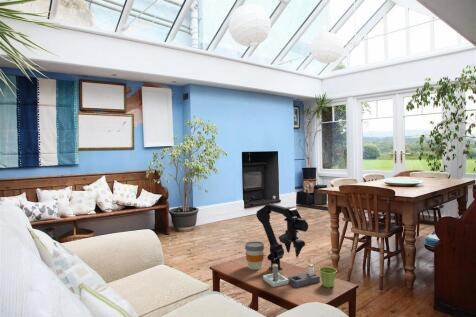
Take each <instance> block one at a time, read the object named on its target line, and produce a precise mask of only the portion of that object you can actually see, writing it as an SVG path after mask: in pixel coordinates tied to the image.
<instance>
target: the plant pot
mask: <svg viewBox="0 0 476 317" xmlns="http://www.w3.org/2000/svg"><path fill="white" fill-rule="evenodd" d="M318 270H319V273H320V279H321V282H322V283H321V284H322V286H323V287H324V288H333V287H334V286H335V279H336V278H335V277H336V273H337V272H338V270H337V269H336V268H335V267H331V266H323V267H322V266H321V267H320V268H318Z"/></svg>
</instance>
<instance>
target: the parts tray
mask: <svg viewBox="0 0 476 317" xmlns="http://www.w3.org/2000/svg"><path fill="white" fill-rule="evenodd" d="M262 280H263V281H264V282H266V283H267V284H268V285H270V286H271V287H272V288H275V287H281V286H283V285H288V284H290V283H289V280H288V277H285V276H284V275H282V273H279V272H278V281H273V272H272V273H268V274H263V275H262Z"/></svg>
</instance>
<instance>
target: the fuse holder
mask: <svg viewBox="0 0 476 317" xmlns="http://www.w3.org/2000/svg"><path fill="white" fill-rule="evenodd" d="M287 279H288V280H289V284H291V285H292V286H293V287H295V288H298V287H299V288H300V287H304V286H308V285H312V284H316V283H320V281H321V275H318V274H316V273H314V276H313V277H309V276H308V272H304V273H300V274H295V275H294V274H293V275H290V276H287Z"/></svg>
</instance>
